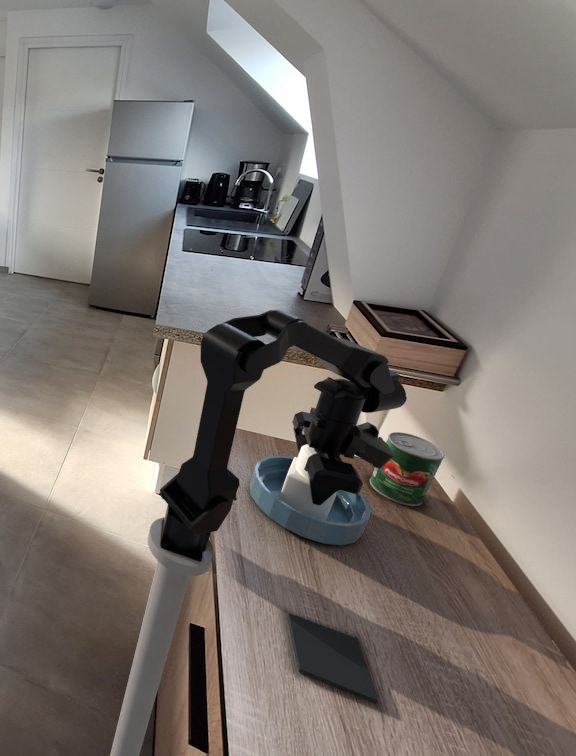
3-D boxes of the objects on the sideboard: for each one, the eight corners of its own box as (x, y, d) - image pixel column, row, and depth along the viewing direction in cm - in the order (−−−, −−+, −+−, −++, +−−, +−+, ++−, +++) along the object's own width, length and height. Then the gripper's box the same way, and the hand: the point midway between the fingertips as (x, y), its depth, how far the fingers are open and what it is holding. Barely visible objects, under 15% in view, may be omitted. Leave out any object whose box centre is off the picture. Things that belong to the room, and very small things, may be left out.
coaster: (298, 671, 58) (299, 668, 57) (287, 615, 64) (288, 612, 64) (376, 703, 55) (378, 700, 54) (356, 641, 61) (357, 638, 61)
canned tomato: (410, 483, 91) (432, 438, 87) (430, 511, 84) (454, 463, 80) (362, 472, 94) (381, 427, 90) (378, 498, 87) (399, 451, 83)
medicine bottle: (328, 505, 84) (350, 452, 79) (323, 527, 79) (345, 472, 74) (284, 485, 88) (302, 434, 84) (276, 505, 83) (294, 451, 79)
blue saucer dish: (253, 525, 79) (261, 503, 78) (244, 465, 94) (250, 446, 92) (374, 563, 73) (386, 540, 71) (344, 493, 88) (353, 472, 86)
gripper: (421, 461, 65) (384, 542, 71) (377, 397, 81) (349, 467, 87) (328, 440, 69) (300, 518, 75) (303, 383, 85) (282, 451, 91)
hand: (310, 486), depth 82 cm, fingers open, 9 cm apart
